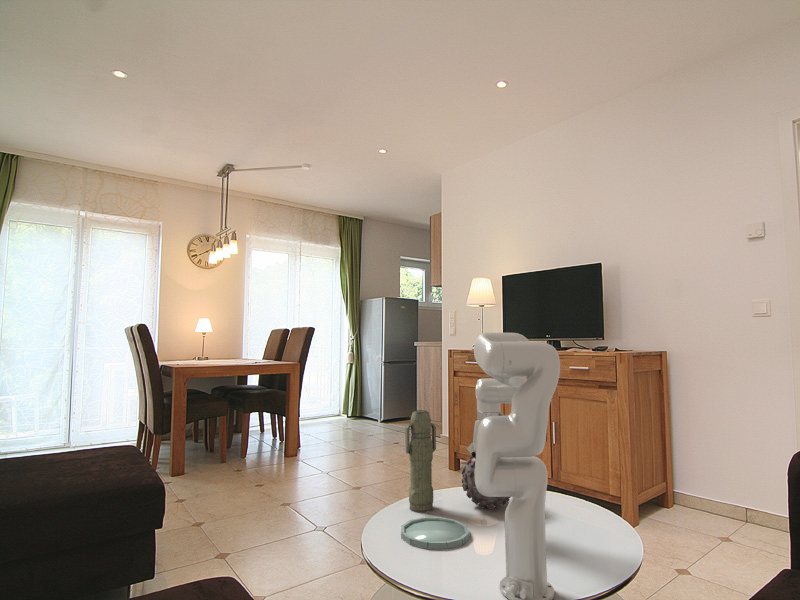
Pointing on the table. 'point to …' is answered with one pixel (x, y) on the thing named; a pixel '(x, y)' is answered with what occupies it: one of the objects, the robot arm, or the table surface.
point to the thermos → (421, 460)
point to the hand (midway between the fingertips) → (490, 474)
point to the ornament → (472, 491)
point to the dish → (434, 533)
